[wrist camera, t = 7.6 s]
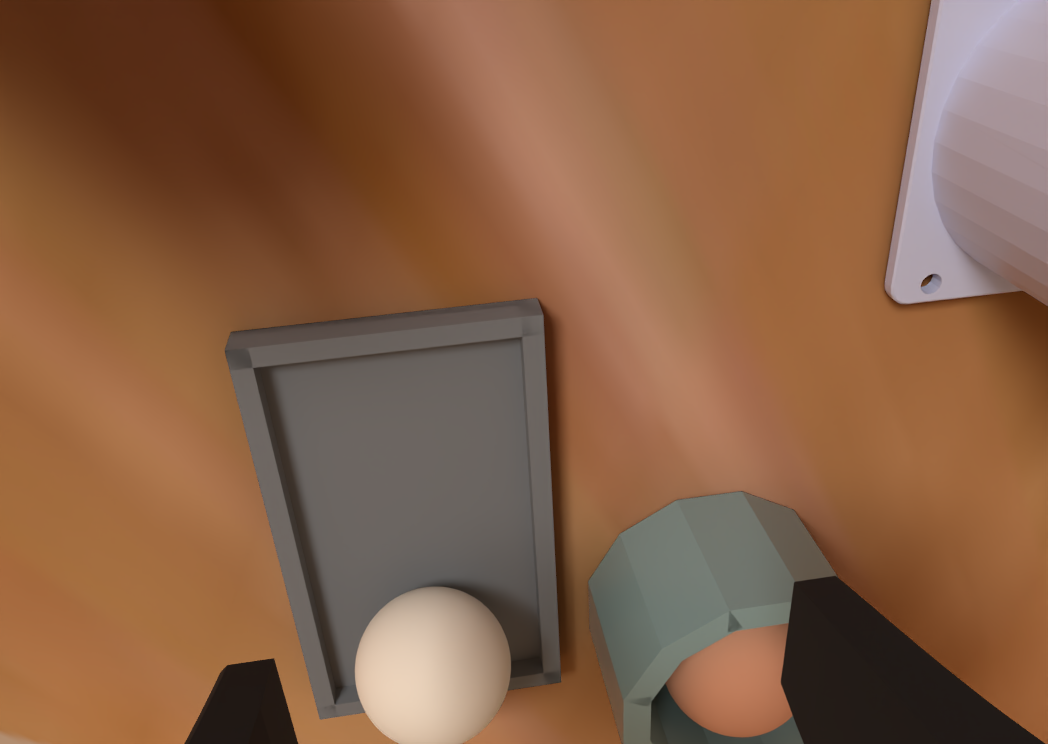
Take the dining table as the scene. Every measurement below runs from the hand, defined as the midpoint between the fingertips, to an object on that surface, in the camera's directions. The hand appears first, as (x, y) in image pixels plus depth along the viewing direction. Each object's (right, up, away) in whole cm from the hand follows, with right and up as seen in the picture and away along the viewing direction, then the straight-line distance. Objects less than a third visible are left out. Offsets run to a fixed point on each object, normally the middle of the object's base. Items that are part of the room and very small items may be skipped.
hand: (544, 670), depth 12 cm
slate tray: (-3, 0, +11) cm, 11 cm away
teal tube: (+5, -2, +14) cm, 15 cm away
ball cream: (-3, -2, +12) cm, 13 cm away
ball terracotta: (+5, -3, +13) cm, 14 cm away
